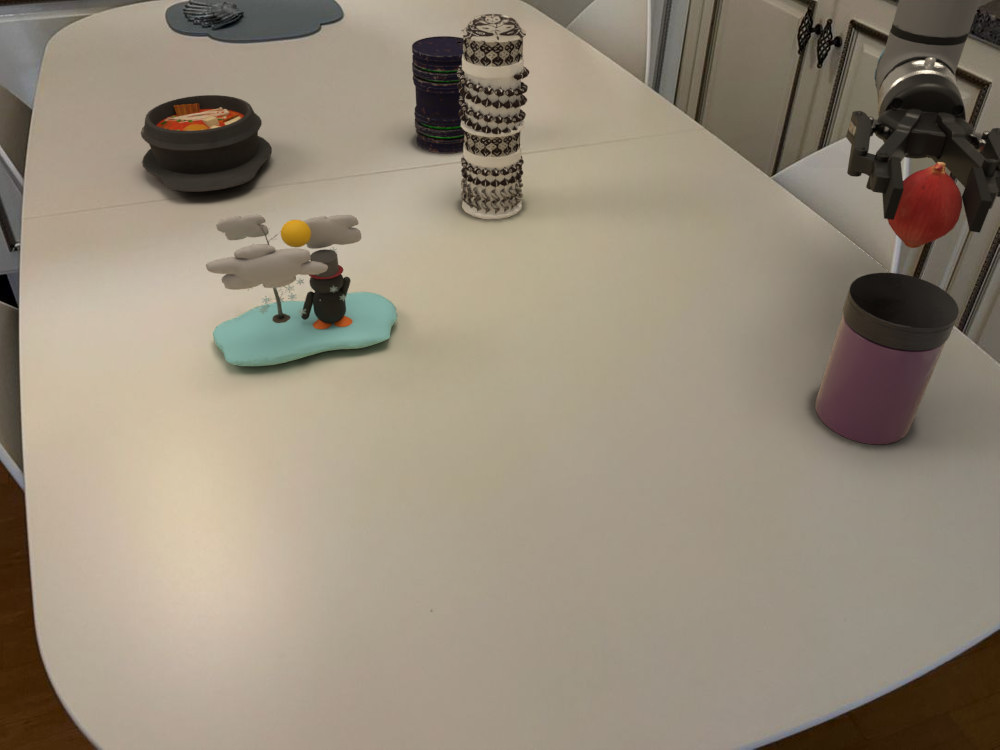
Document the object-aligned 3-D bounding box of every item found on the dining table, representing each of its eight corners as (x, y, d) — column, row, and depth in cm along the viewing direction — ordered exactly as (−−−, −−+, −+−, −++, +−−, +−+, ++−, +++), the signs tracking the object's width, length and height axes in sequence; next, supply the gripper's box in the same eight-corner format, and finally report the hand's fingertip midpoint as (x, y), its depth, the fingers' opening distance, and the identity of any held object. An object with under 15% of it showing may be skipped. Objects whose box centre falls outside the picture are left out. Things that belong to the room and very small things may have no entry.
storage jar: (439, 158, 132) (436, 60, 123) (403, 138, 138) (398, 43, 129) (489, 143, 137) (490, 47, 128) (453, 124, 143) (451, 32, 134)
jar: (907, 396, 87) (950, 288, 79) (912, 453, 81) (960, 341, 73) (816, 378, 89) (848, 271, 81) (813, 433, 83) (849, 322, 75)
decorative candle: (501, 185, 125) (504, 5, 109) (537, 210, 119) (545, 23, 103) (447, 200, 121) (442, 15, 106) (481, 226, 115) (481, 34, 99)
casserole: (146, 141, 136) (132, 89, 131) (265, 129, 140) (257, 78, 135) (144, 211, 117) (128, 153, 112) (282, 194, 121) (273, 138, 116)
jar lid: (945, 304, 81) (953, 282, 79) (954, 359, 74) (964, 336, 72) (842, 286, 83) (849, 265, 81) (842, 339, 76) (849, 316, 74)
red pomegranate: (862, 235, 77) (887, 151, 72) (915, 226, 78) (944, 143, 74) (904, 267, 73) (934, 179, 68) (960, 257, 74) (993, 171, 69)
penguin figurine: (390, 299, 100) (381, 179, 91) (408, 351, 92) (400, 226, 83) (214, 324, 96) (185, 201, 86) (216, 381, 88) (185, 252, 78)
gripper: (831, 60, 85) (825, 149, 68) (1037, 83, 81) (1088, 183, 63) (813, 133, 90) (803, 233, 73) (1007, 158, 85) (1047, 271, 68)
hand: (936, 210), depth 68 cm, fingers closed on red pomegranate, 6 cm apart
